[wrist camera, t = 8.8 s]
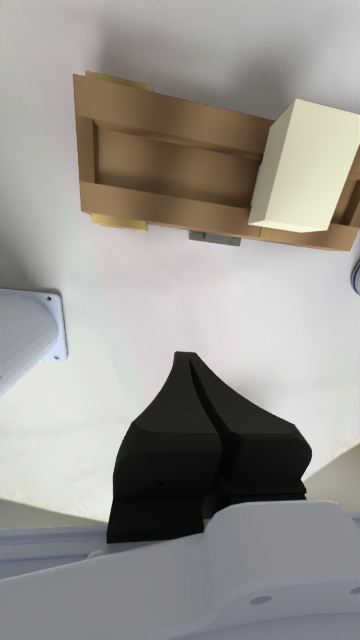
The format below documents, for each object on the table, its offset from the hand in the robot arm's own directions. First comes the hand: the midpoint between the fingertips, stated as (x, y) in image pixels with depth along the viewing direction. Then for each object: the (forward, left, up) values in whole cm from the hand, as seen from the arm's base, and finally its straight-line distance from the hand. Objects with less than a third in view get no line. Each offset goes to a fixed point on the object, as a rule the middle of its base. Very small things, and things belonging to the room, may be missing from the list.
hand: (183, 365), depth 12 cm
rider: (+6, +12, -7) cm, 15 cm away
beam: (+3, +12, -10) cm, 16 cm away
